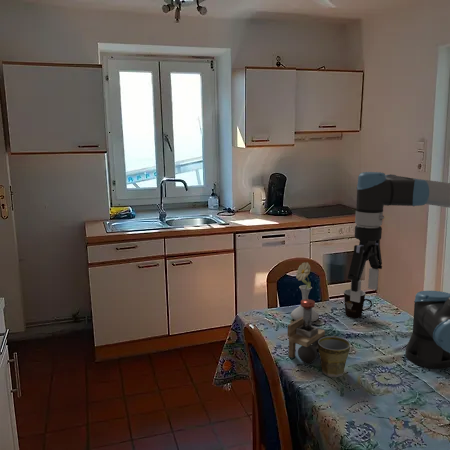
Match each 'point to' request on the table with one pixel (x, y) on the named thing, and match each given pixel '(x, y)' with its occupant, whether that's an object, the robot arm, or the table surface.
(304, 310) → the pin
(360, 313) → the coffee mug
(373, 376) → the table surface
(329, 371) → the ceramic cup
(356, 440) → the table surface
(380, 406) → the table surface
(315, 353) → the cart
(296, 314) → the flower in vase
